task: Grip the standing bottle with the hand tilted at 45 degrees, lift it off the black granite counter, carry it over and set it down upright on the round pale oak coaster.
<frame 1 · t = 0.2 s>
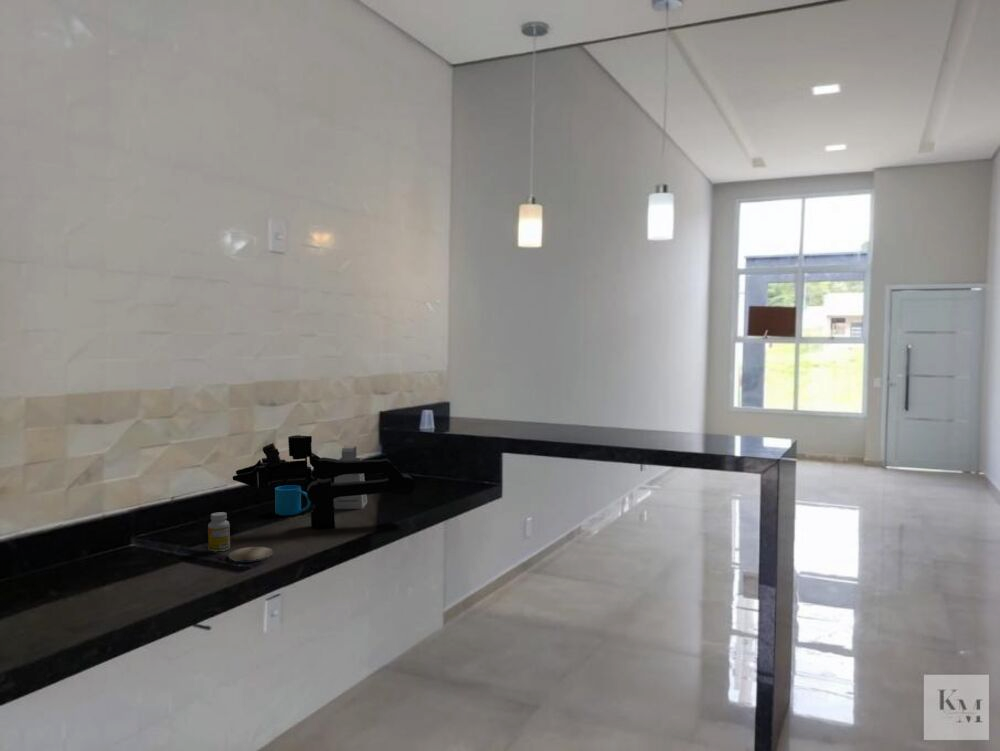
hand: (234, 475, 213), 17 cm above the worktop, tool horizontal, fingers open, 9 cm apart
mug: (293, 513, 238), on the worktop
oak coaster: (250, 556, 189), on the worktop
grater: (349, 505, 248), on the worktop
supplement bottle: (219, 550, 195), on the worktop
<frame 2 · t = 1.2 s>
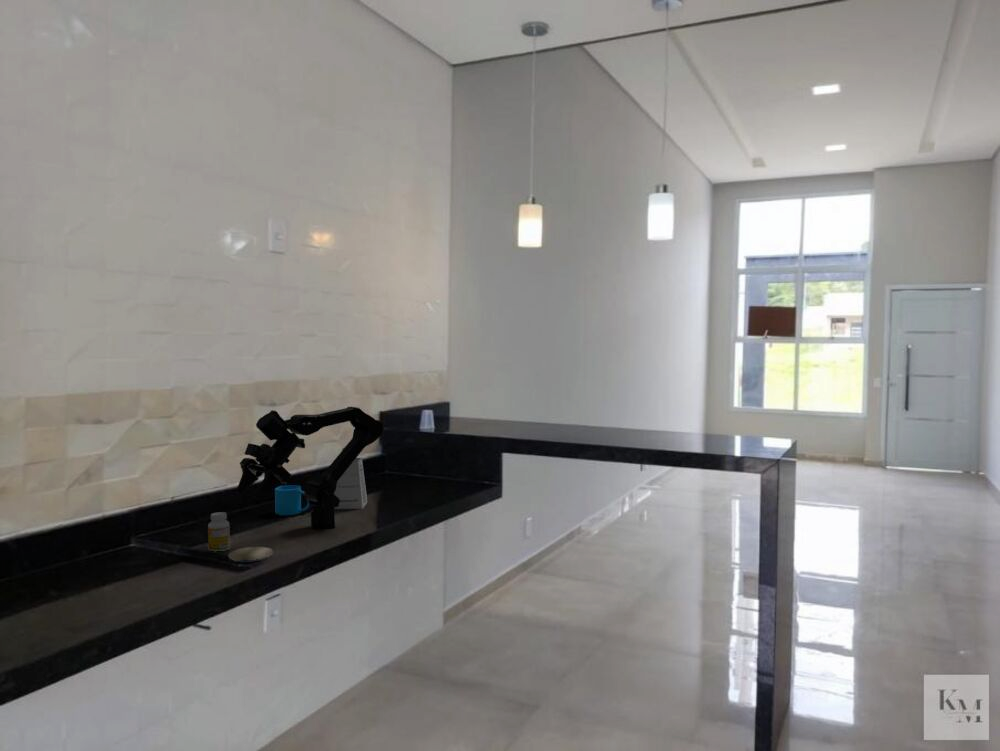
hand: (245, 494, 201), 14 cm above the worktop, tool tilted 45°, fingers open, 9 cm apart
nothing on the worktop moved.
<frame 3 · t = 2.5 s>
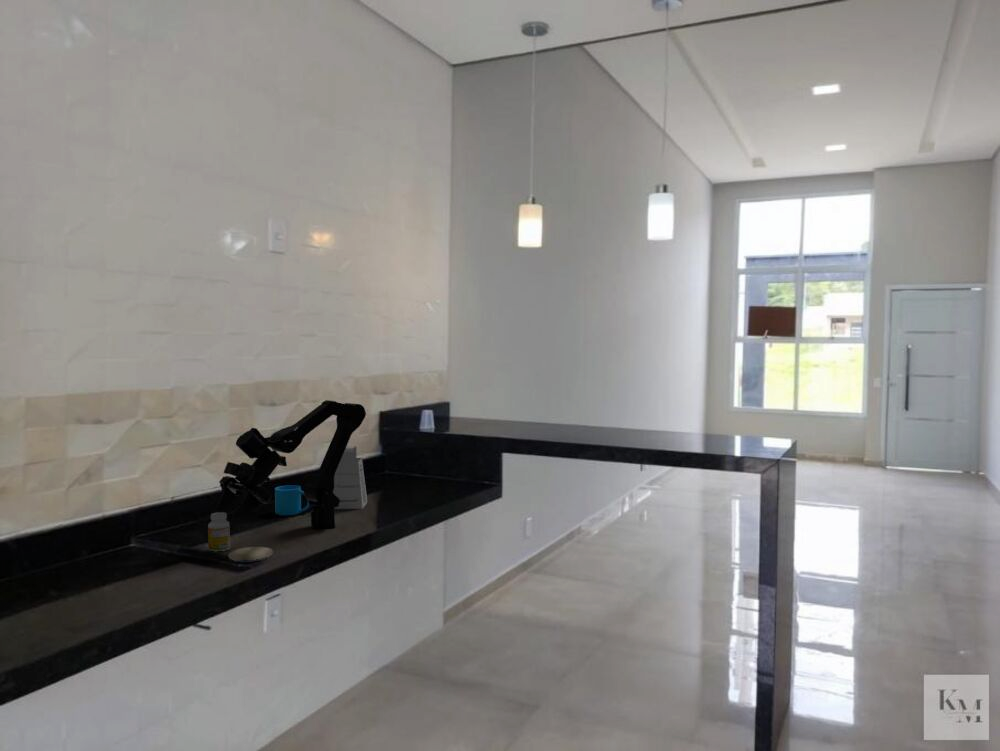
hand: (224, 514, 196), 9 cm above the worktop, tool tilted 45°, fingers open, 9 cm apart
nothing on the worktop moved.
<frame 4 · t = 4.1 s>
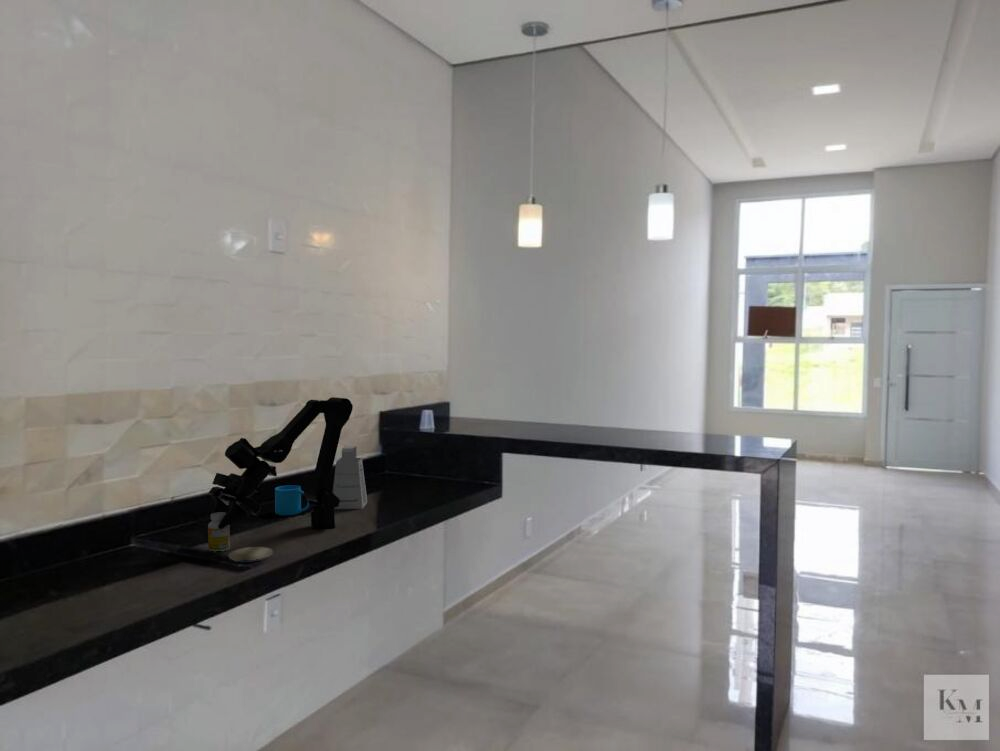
hand: (213, 526, 194), 7 cm above the worktop, tool tilted 45°, fingers closed on supplement bottle, 5 cm apart
supplement bottle: (219, 550, 195), on the worktop, touching gripper
everything else where it was.
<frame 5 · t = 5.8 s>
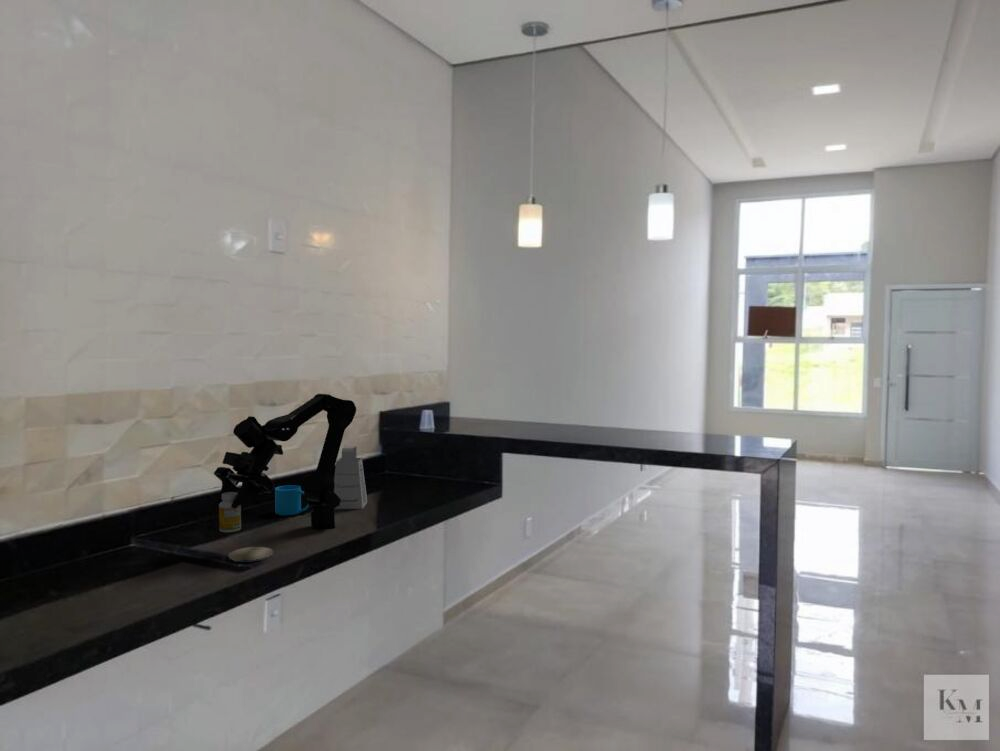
hand: (225, 506, 190), 13 cm above the worktop, tool tilted 45°, fingers closed on supplement bottle, 5 cm apart
supplement bottle: (230, 530, 192), point 6 cm above the worktop, touching gripper
everything else where it was.
when the fingers open (9 cm above the worktop, at t = 7.8 s): supplement bottle drops 1 cm, resting on oak coaster.
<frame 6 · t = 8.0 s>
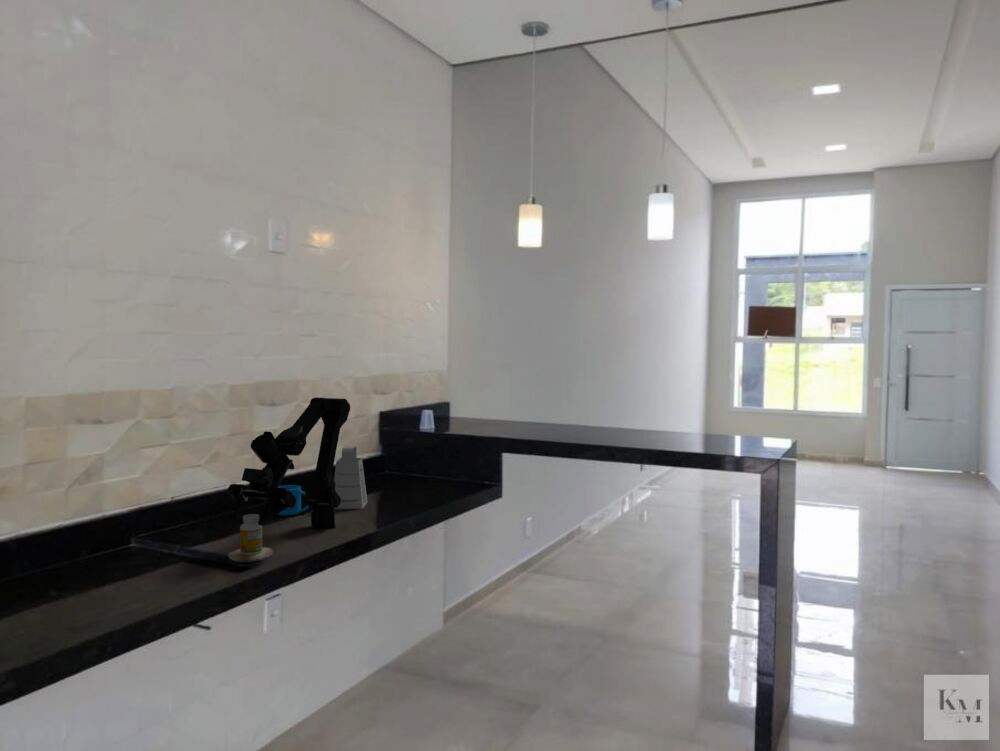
hand: (246, 523, 187), 9 cm above the worktop, tool tilted 45°, fingers open, 8 cm apart
supplement bottle: (251, 553, 189), point 1 cm above the worktop, touching oak coaster
everything else where it was.
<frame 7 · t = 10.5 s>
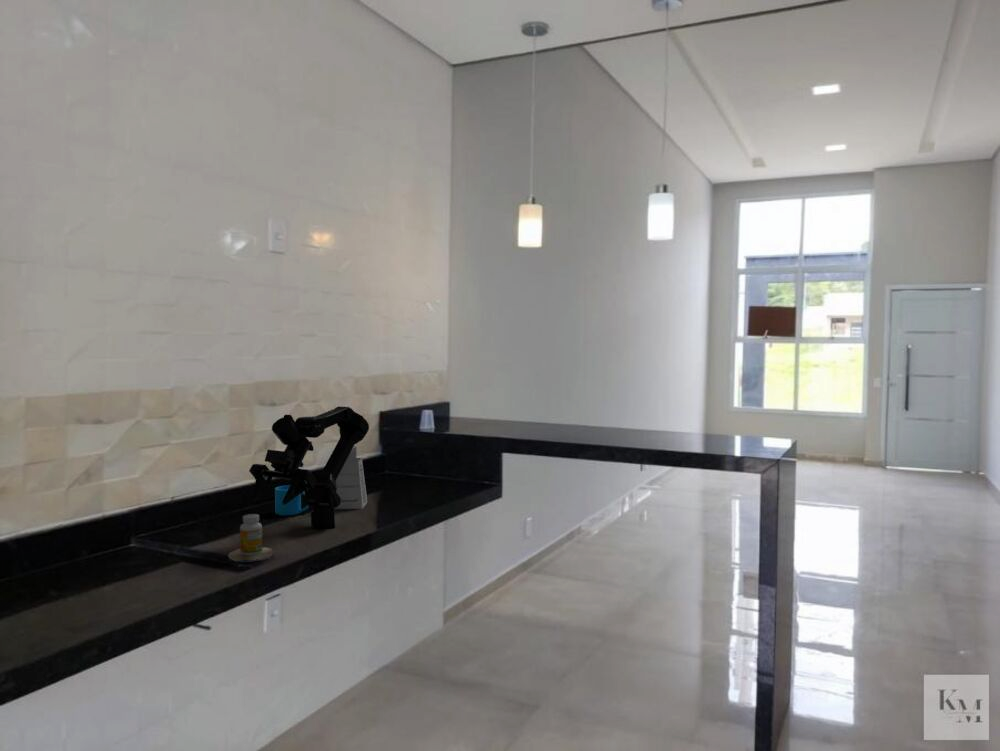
hand: (269, 502, 196), 12 cm above the worktop, tool tilted 45°, fingers open, 9 cm apart
nothing on the worktop moved.
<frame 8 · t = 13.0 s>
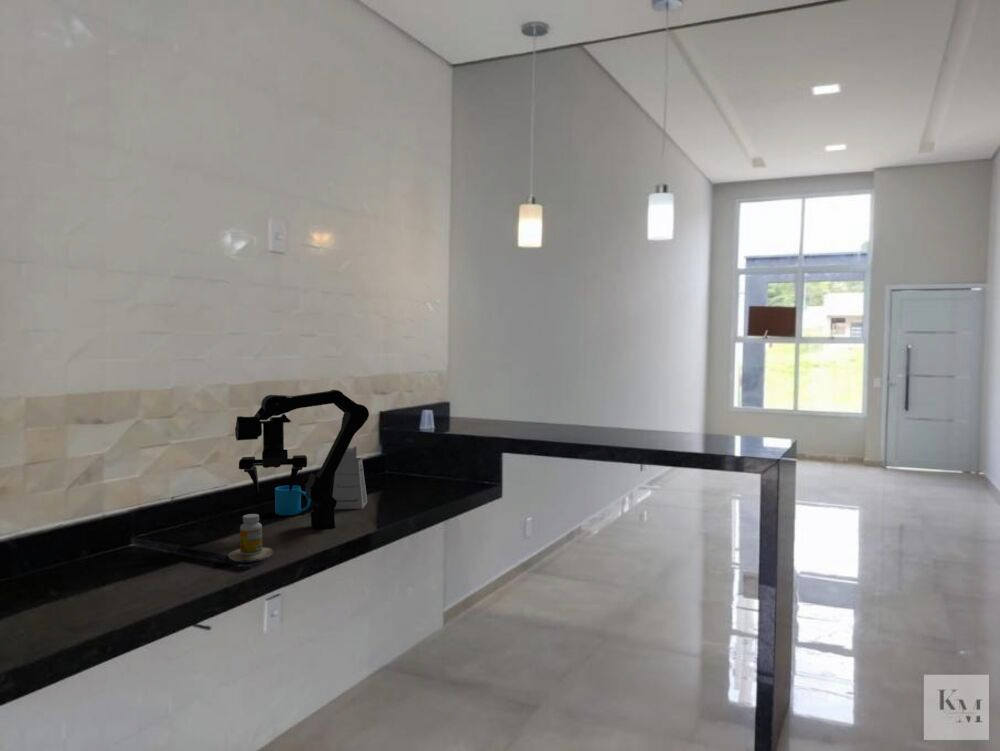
hand: (274, 491, 213), 12 cm above the worktop, tool pointing down, fingers open, 9 cm apart
nothing on the worktop moved.
at the end: supplement bottle 0.2 cm from the oak coaster (horizontally); supplement bottle tilted 0°; the gripper is holding nothing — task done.
